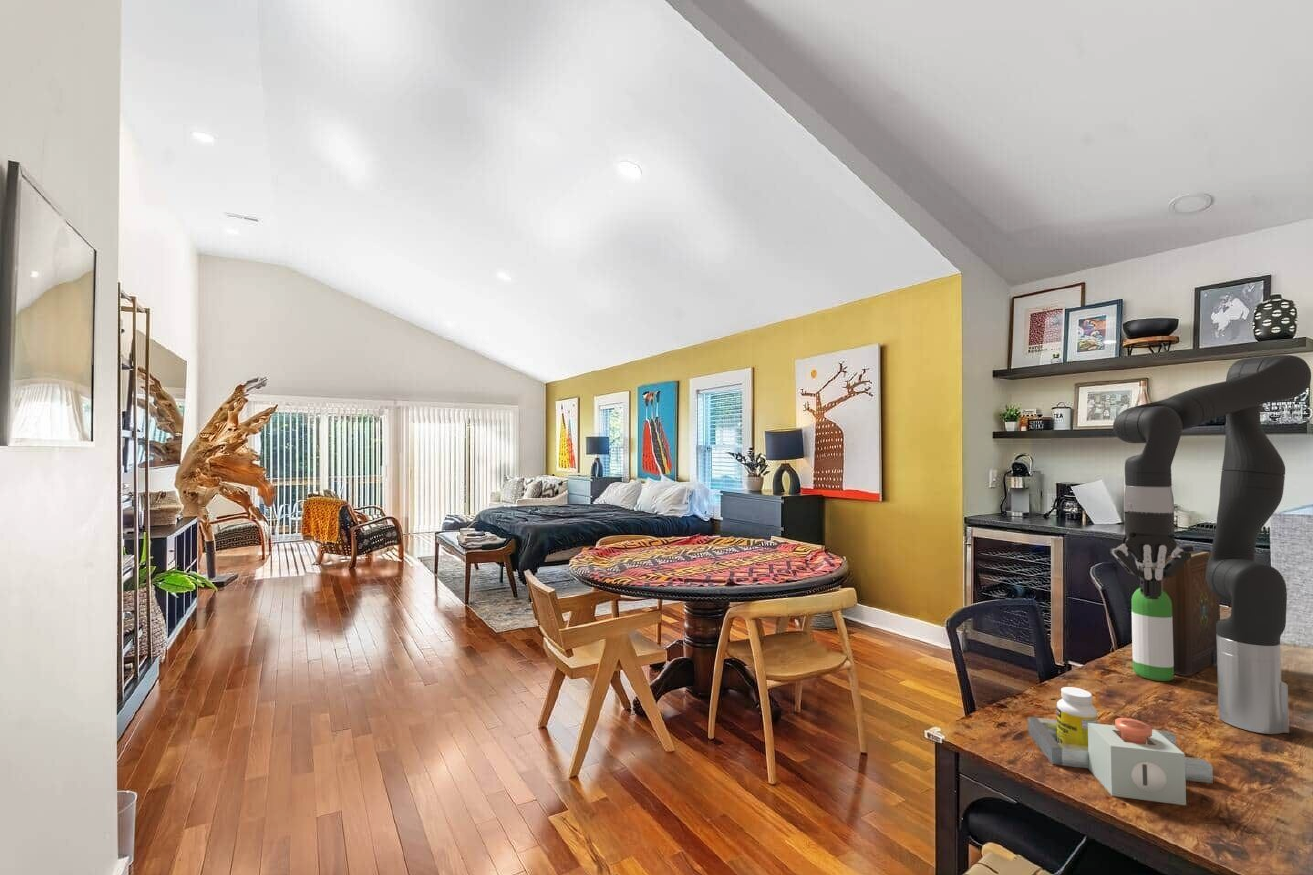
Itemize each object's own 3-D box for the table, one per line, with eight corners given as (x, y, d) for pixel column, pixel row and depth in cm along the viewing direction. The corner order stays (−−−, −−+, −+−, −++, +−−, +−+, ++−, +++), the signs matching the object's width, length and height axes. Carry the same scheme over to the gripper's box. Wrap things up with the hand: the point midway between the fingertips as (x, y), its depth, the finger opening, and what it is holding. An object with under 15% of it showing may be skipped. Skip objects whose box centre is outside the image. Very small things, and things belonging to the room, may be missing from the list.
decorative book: (1188, 653, 162) (1185, 543, 162) (1223, 661, 155) (1220, 547, 156) (1153, 670, 149) (1150, 551, 150) (1190, 679, 143) (1187, 555, 144)
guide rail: (1170, 747, 111) (1169, 731, 111) (1212, 783, 99) (1212, 765, 99) (1028, 732, 117) (1027, 716, 117) (1052, 764, 105) (1051, 746, 105)
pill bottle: (1049, 744, 112) (1048, 685, 112) (1079, 742, 113) (1078, 684, 113) (1075, 761, 106) (1073, 699, 106) (1107, 759, 106) (1105, 697, 107)
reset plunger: (1143, 743, 100) (1142, 719, 100) (1159, 757, 95) (1158, 732, 95) (1110, 739, 101) (1109, 716, 101) (1124, 753, 96) (1123, 729, 96)
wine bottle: (1162, 684, 140) (1159, 558, 141) (1125, 673, 147) (1123, 553, 148) (1181, 679, 143) (1178, 555, 144) (1144, 668, 150) (1141, 550, 151)
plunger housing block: (1156, 776, 101) (1155, 729, 101) (1188, 807, 92) (1186, 755, 92) (1088, 768, 103) (1087, 722, 103) (1113, 797, 95) (1112, 747, 95)
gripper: (1177, 508, 117) (1180, 595, 117) (1100, 506, 120) (1102, 591, 120) (1201, 511, 110) (1204, 605, 109) (1118, 510, 113) (1120, 600, 113)
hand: (1150, 598), depth 115 cm, fingers closed
